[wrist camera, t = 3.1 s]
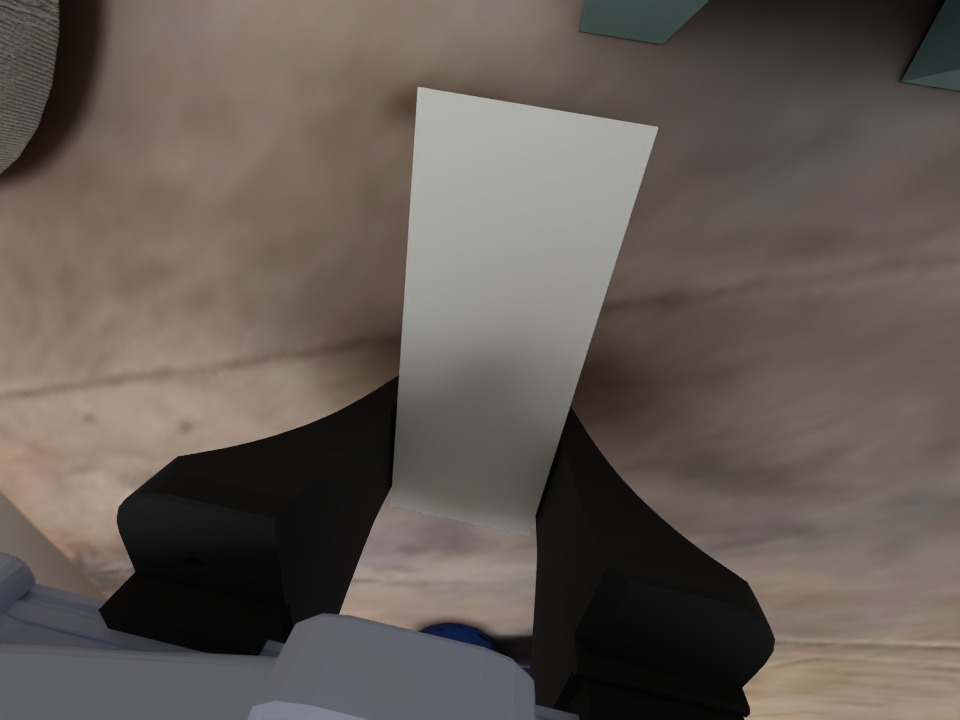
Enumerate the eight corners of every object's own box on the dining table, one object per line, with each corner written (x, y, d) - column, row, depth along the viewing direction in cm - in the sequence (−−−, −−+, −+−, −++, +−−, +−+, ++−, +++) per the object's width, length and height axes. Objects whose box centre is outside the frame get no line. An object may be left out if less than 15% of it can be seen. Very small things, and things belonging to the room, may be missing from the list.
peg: (531, 444, 15) (528, 536, 11) (426, 422, 15) (390, 506, 11) (616, 138, 10) (658, 126, 6) (460, 112, 10) (418, 86, 7)
